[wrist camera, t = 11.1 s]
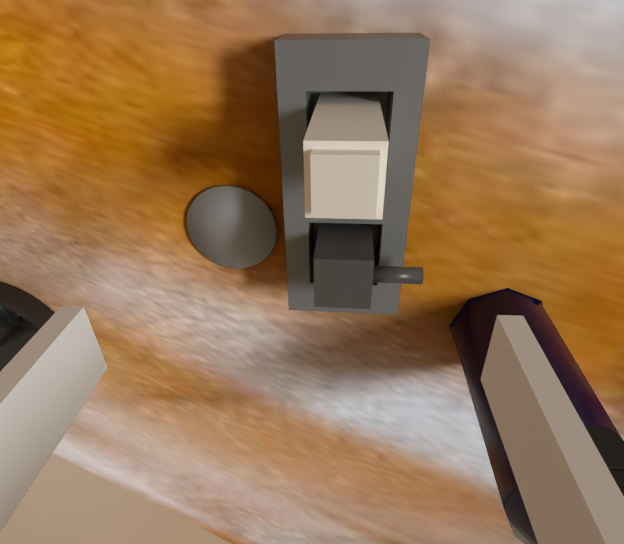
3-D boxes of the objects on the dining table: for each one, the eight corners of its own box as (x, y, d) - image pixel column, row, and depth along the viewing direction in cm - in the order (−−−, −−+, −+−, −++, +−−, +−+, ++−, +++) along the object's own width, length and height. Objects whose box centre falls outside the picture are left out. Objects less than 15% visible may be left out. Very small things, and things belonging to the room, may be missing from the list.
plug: (320, 92, 30) (301, 145, 19) (377, 92, 30) (389, 146, 19) (320, 149, 32) (303, 224, 22) (373, 149, 32) (383, 226, 21)
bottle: (442, 360, 44) (557, 839, 19) (455, 287, 39) (634, 805, 14) (535, 363, 43) (784, 869, 18) (561, 289, 38) (951, 844, 13)
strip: (295, 277, 40) (282, 342, 33) (285, 34, 29) (261, 46, 22) (403, 281, 39) (415, 348, 32) (434, 32, 28) (462, 45, 21)
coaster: (195, 264, 40) (194, 267, 40) (180, 184, 36) (178, 185, 36) (279, 267, 40) (278, 269, 39) (274, 185, 35) (273, 187, 35)
